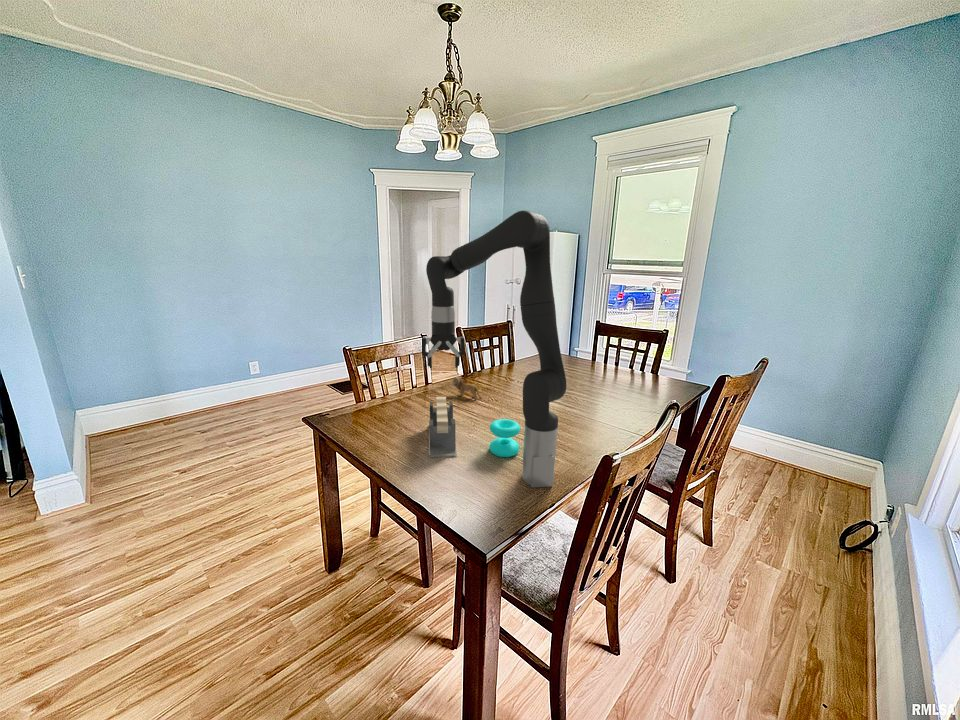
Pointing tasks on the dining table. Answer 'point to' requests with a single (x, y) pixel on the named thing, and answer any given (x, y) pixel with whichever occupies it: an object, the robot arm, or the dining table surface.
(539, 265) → the robot arm
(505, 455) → the turquoise hourglass-shaped piece
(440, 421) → the birch rail
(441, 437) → the cradle bracket stand
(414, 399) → the dining table surface
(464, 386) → the lion figurine
